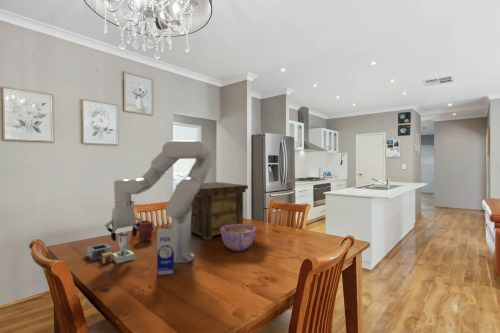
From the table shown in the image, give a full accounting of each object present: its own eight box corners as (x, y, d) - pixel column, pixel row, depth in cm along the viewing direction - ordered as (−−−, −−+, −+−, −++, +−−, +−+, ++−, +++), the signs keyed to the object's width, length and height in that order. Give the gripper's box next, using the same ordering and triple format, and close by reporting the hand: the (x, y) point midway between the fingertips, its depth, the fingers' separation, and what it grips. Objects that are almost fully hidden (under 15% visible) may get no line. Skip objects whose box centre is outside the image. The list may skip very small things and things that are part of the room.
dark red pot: (141, 238, 170) (156, 238, 169) (133, 242, 160) (149, 243, 159) (141, 218, 169) (156, 219, 168) (133, 222, 159) (149, 222, 158)
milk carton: (157, 275, 114) (156, 229, 113) (157, 269, 120) (157, 225, 120) (174, 273, 116) (174, 228, 115) (174, 267, 122) (174, 224, 122)
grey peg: (128, 257, 133) (129, 233, 133) (120, 259, 130) (120, 234, 130) (125, 255, 136) (126, 231, 136) (117, 257, 133) (117, 233, 133)
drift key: (112, 261, 130) (112, 253, 130) (103, 263, 127) (103, 255, 127) (105, 256, 137) (105, 248, 137) (97, 258, 134) (97, 250, 134)
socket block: (111, 255, 138) (111, 247, 138) (92, 260, 131) (92, 251, 131) (106, 251, 144) (106, 243, 144) (87, 255, 138) (87, 247, 138)
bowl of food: (252, 256, 138) (252, 233, 138) (215, 253, 142) (215, 231, 142) (258, 244, 158) (258, 224, 157) (226, 242, 162) (226, 223, 161)
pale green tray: (134, 259, 133) (134, 253, 133) (117, 263, 127) (117, 257, 127) (128, 255, 139) (128, 249, 139) (111, 259, 133) (111, 253, 133)
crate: (247, 232, 183) (247, 185, 182) (203, 243, 159) (203, 188, 158) (217, 223, 208) (217, 182, 208) (176, 231, 185) (176, 184, 184)
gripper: (137, 201, 141) (138, 233, 142) (101, 205, 129) (103, 240, 129) (143, 202, 136) (144, 236, 136) (106, 207, 124) (108, 244, 124)
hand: (124, 238), depth 133 cm, fingers open, 9 cm apart
